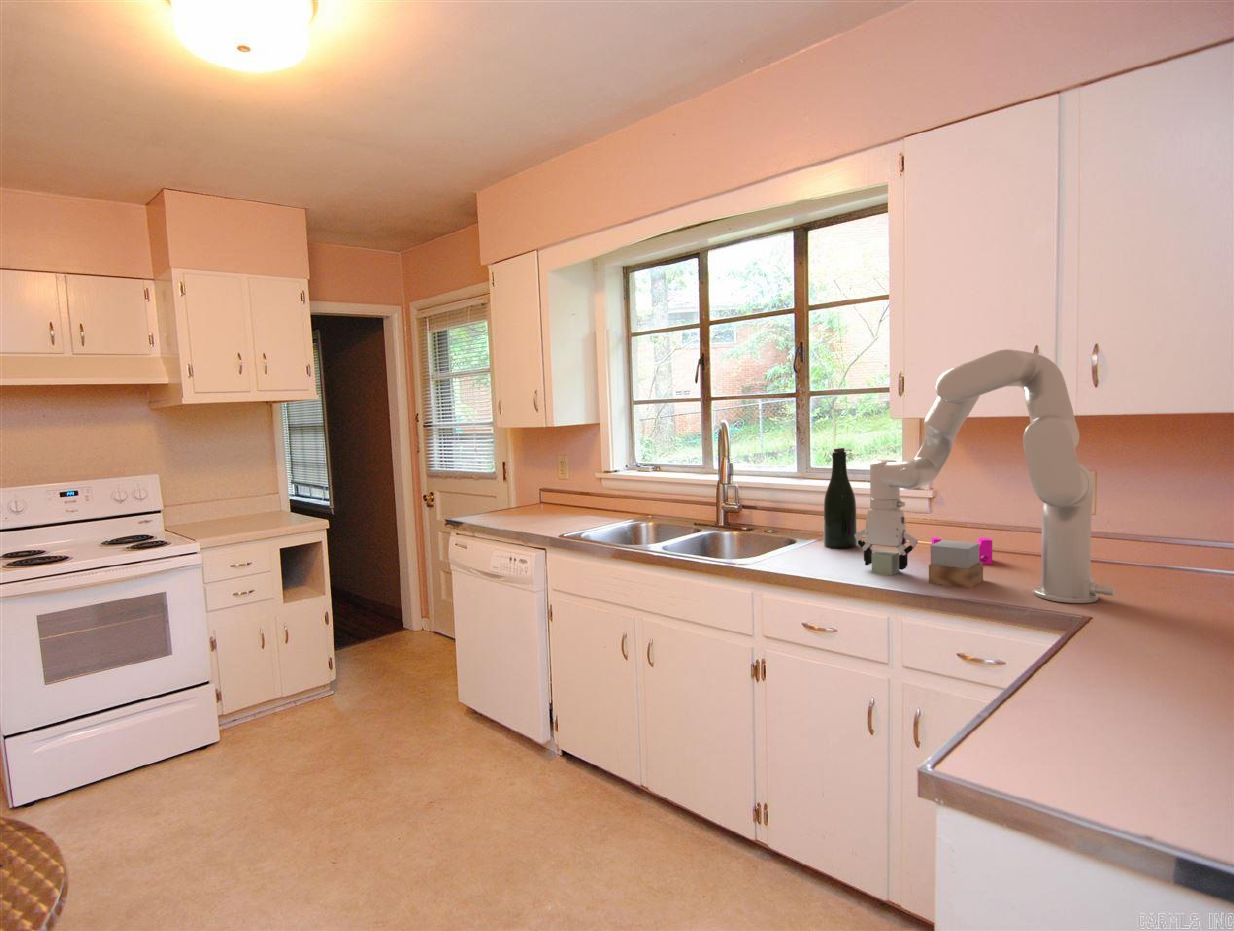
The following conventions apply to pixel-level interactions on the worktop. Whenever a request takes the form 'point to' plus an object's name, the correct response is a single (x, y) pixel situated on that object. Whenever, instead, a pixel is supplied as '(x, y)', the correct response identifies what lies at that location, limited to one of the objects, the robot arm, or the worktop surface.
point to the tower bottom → (956, 575)
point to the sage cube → (885, 562)
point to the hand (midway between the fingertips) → (885, 566)
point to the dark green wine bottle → (840, 507)
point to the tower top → (955, 554)
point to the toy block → (984, 549)
